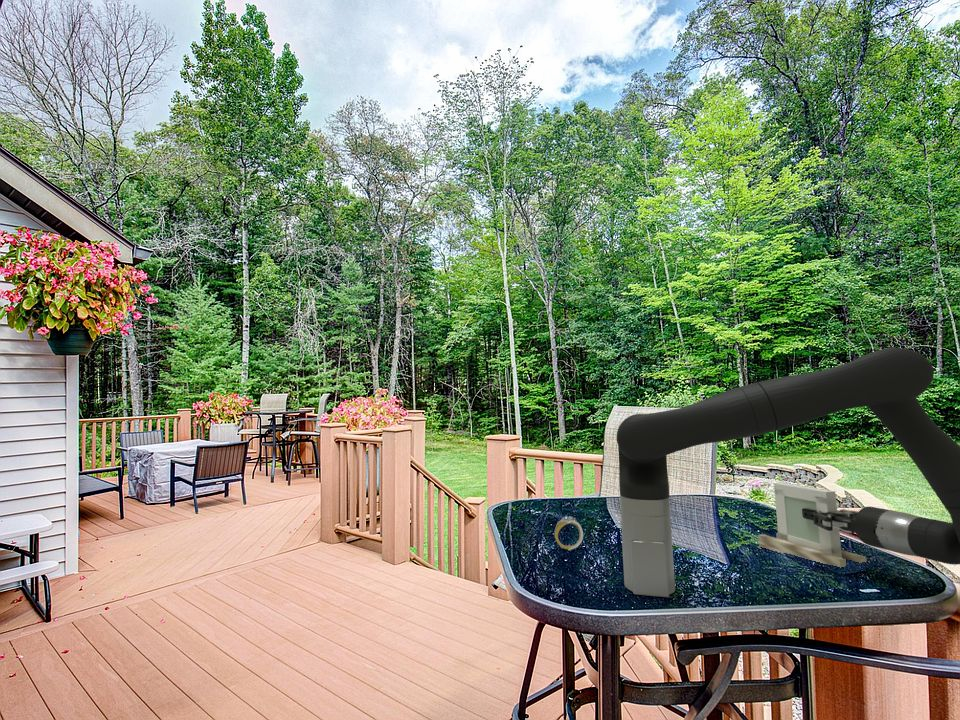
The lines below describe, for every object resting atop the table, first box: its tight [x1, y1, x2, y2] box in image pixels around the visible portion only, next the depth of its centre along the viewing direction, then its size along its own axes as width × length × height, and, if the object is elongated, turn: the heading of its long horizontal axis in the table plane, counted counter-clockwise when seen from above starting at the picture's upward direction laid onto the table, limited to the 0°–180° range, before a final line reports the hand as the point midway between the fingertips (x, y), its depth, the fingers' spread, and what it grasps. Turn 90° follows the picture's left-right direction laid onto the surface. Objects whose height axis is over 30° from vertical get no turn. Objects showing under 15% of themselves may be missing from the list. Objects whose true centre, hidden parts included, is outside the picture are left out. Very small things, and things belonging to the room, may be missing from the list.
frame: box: [773, 482, 842, 558], centre depth 105 cm, size 13×3×14 cm, turn 14°
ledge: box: [758, 532, 867, 568], centre depth 104 cm, size 20×7×3 cm, turn 14°
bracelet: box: [554, 515, 584, 551], centre depth 114 cm, size 7×3×8 cm, turn 89°
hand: (809, 512), depth 104 cm, fingers closed on frame, 2 cm apart
